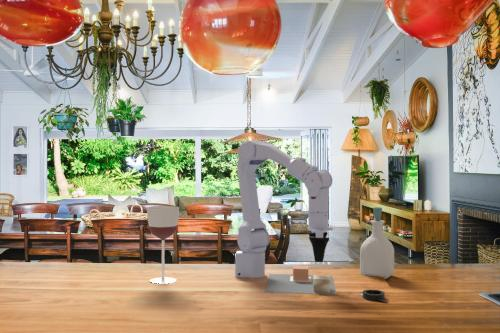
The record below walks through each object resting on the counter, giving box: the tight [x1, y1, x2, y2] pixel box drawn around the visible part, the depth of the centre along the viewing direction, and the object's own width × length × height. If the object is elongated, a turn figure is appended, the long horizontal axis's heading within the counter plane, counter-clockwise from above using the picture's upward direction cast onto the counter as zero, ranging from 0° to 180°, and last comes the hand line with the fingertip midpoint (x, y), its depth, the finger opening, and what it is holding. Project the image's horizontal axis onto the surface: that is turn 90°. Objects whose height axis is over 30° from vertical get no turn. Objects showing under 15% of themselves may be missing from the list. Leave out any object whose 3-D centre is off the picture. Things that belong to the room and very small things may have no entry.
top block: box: [312, 274, 331, 292], centre depth 144 cm, size 5×5×4 cm
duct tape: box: [359, 289, 390, 304], centre depth 136 cm, size 8×10×3 cm
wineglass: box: [146, 205, 180, 285], centre depth 159 cm, size 9×10×23 cm
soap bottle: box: [359, 206, 395, 280], centre depth 166 cm, size 10×10×23 cm
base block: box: [292, 265, 309, 281], centre depth 156 cm, size 5×5×4 cm
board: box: [264, 273, 338, 295], centre depth 152 cm, size 20×22×1 cm
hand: (318, 259), depth 146 cm, fingers open, 7 cm apart
